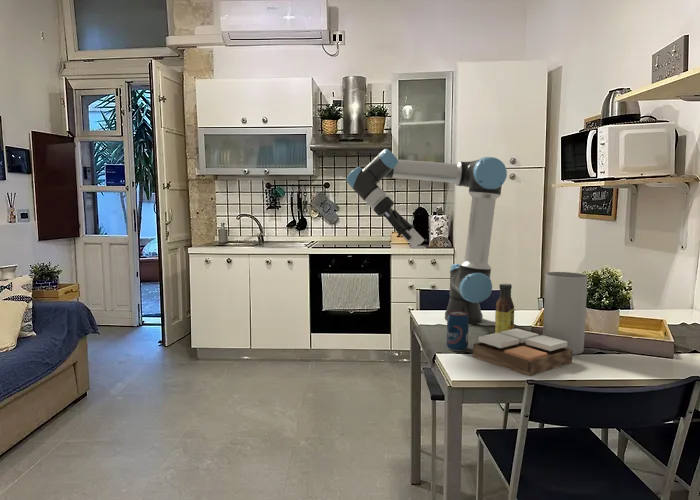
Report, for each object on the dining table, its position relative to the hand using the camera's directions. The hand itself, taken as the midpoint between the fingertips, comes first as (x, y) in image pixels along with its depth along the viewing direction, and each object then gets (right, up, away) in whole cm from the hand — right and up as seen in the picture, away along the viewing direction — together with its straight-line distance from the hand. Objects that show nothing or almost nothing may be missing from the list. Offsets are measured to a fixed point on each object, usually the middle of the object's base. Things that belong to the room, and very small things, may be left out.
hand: (419, 244), depth 182 cm
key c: (+34, -31, -31) cm, 55 cm away
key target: (+26, -33, -36) cm, 56 cm away
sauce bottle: (+28, -34, -8) cm, 45 cm away
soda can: (+10, -35, -18) cm, 40 cm away
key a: (+29, -30, -23) cm, 47 cm away
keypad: (+27, -36, -29) cm, 54 cm away
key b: (+21, -31, -28) cm, 46 cm away
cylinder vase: (+44, -35, -18) cm, 60 cm away
